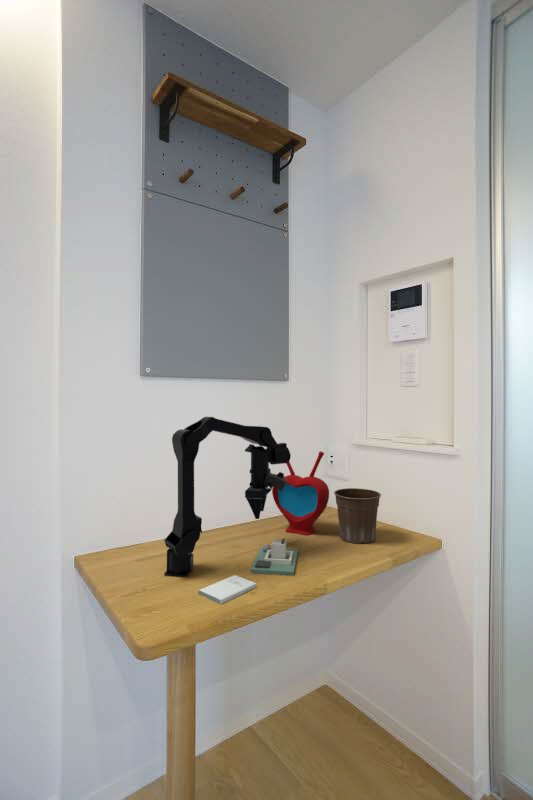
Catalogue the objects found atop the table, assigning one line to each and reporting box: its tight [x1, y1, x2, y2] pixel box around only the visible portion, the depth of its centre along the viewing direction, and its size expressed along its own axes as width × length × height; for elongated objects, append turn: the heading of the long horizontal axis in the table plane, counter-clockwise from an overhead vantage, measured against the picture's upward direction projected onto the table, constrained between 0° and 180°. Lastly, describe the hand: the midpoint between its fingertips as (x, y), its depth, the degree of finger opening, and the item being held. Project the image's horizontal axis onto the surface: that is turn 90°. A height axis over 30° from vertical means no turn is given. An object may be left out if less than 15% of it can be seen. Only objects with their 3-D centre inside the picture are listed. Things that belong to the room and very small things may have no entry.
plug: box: [270, 538, 287, 559], centre depth 123 cm, size 4×4×6 cm
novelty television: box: [271, 451, 330, 536], centre depth 155 cm, size 21×13×30 cm, turn 62°
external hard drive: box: [197, 574, 257, 605], centre depth 104 cm, size 2×8×12 cm
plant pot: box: [333, 487, 382, 545], centre depth 145 cm, size 16×16×16 cm
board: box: [250, 544, 299, 577], centre depth 123 cm, size 12×18×3 cm, turn 172°
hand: (259, 514), depth 131 cm, fingers open, 9 cm apart
